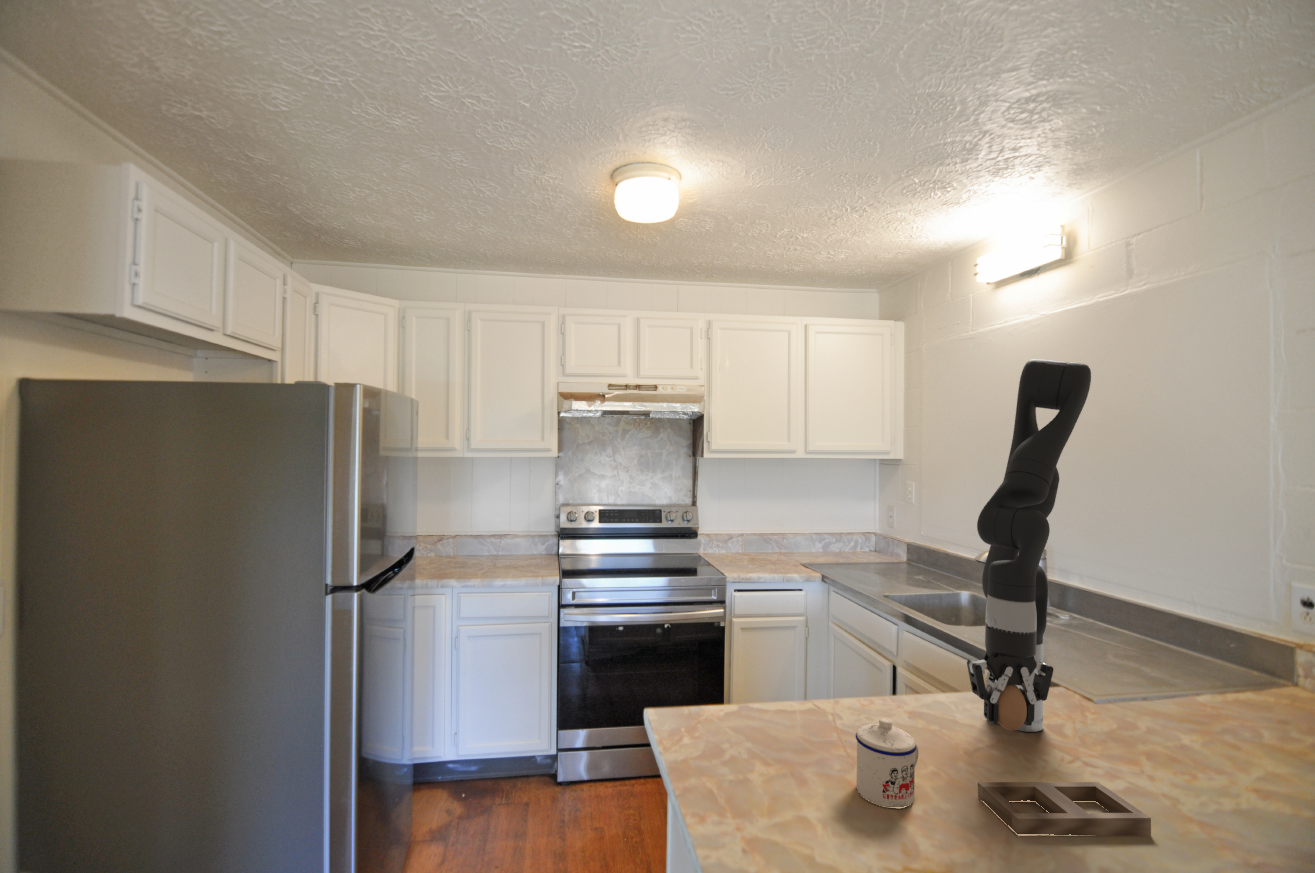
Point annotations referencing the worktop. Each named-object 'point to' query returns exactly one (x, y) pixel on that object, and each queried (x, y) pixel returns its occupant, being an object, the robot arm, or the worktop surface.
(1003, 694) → the egg
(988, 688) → the robot arm
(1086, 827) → the egg rail
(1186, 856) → the worktop surface
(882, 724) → the teacup with lid
